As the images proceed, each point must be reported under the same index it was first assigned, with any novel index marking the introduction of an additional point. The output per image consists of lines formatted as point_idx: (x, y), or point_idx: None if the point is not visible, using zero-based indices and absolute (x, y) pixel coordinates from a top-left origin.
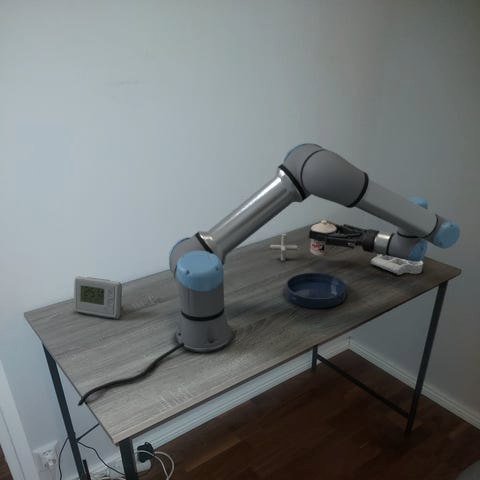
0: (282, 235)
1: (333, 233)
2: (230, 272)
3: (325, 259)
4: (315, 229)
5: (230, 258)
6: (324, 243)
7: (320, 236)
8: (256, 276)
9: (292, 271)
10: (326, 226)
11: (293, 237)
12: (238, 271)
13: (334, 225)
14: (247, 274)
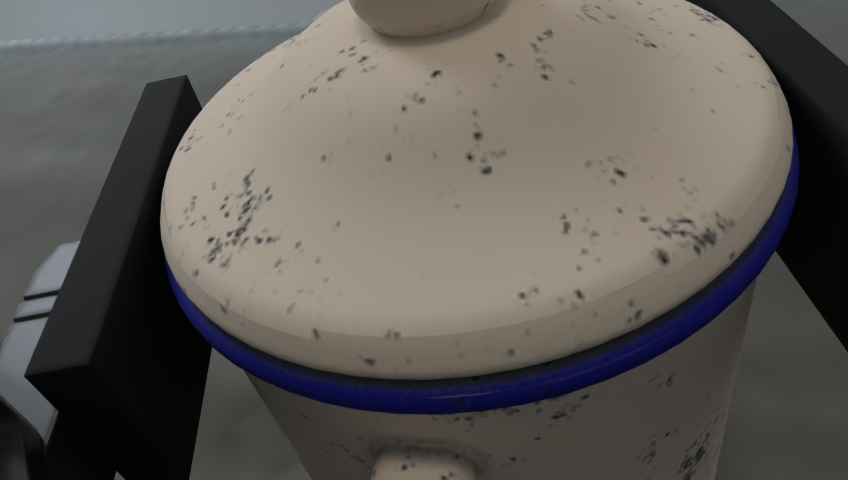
0: (313, 22)
1: (421, 407)
2: (40, 175)
3: (718, 467)
4: (221, 94)
5: (231, 76)
6: (291, 442)
7: (18, 322)
8: (17, 290)
9: (209, 409)
10: (334, 117)
11: (820, 42)
12: (67, 188)
13: (843, 132)
14: (36, 240)
